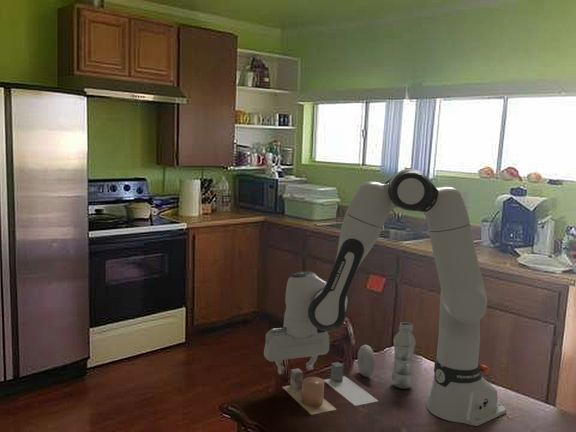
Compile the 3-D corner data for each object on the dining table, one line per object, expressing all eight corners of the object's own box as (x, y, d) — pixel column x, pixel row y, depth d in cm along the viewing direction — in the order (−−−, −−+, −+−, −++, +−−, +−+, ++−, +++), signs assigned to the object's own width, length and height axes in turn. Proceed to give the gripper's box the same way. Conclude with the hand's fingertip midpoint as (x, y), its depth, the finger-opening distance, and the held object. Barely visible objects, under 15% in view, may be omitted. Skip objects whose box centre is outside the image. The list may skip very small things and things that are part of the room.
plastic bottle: (412, 392, 165) (417, 328, 163) (390, 389, 166) (394, 326, 164) (412, 383, 171) (417, 322, 169) (390, 381, 173) (394, 319, 170)
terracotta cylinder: (316, 395, 158) (317, 375, 157) (327, 404, 152) (328, 383, 151) (298, 398, 155) (299, 378, 154) (308, 408, 150) (309, 387, 149)
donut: (375, 382, 171) (377, 351, 170) (364, 382, 171) (366, 351, 169) (365, 369, 181) (367, 340, 180) (355, 369, 180) (357, 340, 179)
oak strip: (305, 386, 166) (306, 367, 165) (336, 412, 150) (337, 392, 149) (281, 390, 162) (282, 370, 161) (310, 418, 146) (312, 396, 145)
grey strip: (344, 379, 172) (345, 360, 171) (378, 404, 156) (379, 384, 155) (322, 383, 168) (323, 364, 168) (354, 409, 152) (356, 388, 152)
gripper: (270, 333, 153) (268, 380, 154) (333, 326, 162) (330, 370, 164) (261, 325, 158) (259, 371, 160) (323, 319, 167) (319, 362, 169)
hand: (295, 371), depth 162 cm, fingers open, 8 cm apart
